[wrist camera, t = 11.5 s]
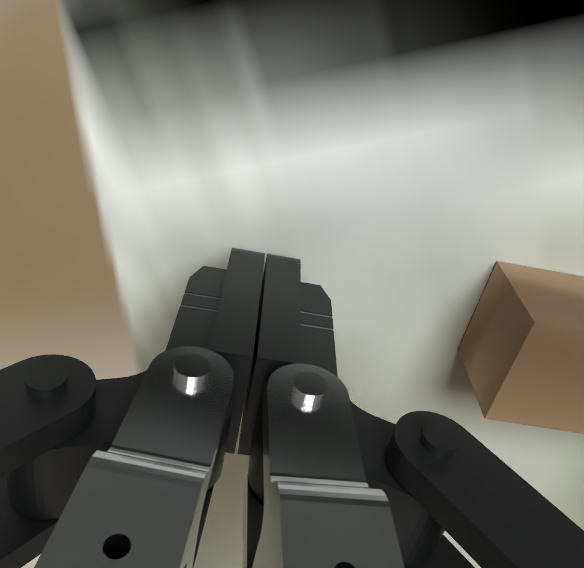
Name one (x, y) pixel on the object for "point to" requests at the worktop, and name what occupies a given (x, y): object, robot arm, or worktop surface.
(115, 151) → the worktop surface
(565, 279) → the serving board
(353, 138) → the worktop surface
